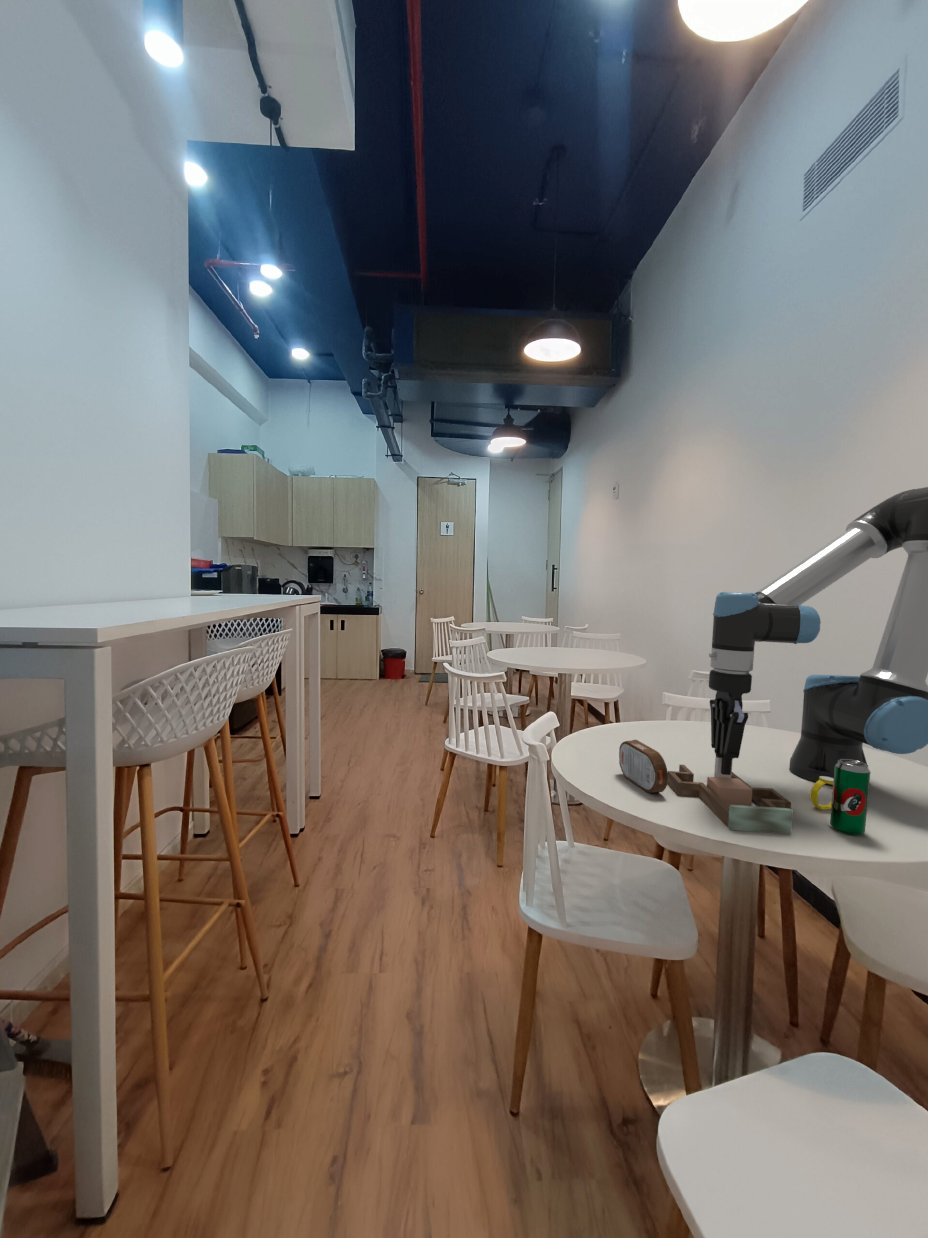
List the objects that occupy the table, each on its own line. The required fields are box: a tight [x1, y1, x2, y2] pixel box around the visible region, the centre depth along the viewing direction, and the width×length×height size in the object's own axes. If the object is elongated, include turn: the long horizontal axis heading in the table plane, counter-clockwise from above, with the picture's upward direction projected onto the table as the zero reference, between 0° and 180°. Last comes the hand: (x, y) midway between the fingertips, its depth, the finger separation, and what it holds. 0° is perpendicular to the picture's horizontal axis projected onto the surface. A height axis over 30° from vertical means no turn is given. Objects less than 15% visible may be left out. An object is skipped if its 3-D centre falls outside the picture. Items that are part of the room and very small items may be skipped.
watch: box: [809, 776, 834, 811], centre depth 106 cm, size 6×3×6 cm, turn 104°
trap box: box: [667, 764, 794, 835], centre depth 108 cm, size 18×27×4 cm, turn 177°
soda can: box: [829, 759, 871, 837], centre depth 96 cm, size 5×5×12 cm
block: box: [706, 776, 753, 807], centre depth 107 cm, size 6×6×4 cm
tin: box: [618, 739, 668, 794], centre depth 115 cm, size 15×3×8 cm, turn 13°
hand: (721, 788), depth 110 cm, fingers closed
